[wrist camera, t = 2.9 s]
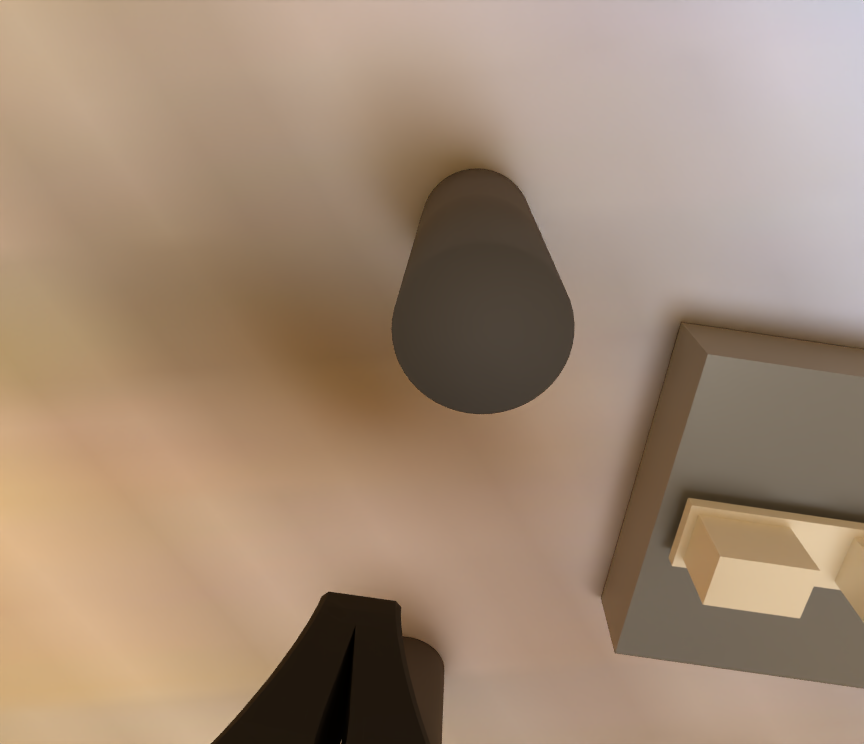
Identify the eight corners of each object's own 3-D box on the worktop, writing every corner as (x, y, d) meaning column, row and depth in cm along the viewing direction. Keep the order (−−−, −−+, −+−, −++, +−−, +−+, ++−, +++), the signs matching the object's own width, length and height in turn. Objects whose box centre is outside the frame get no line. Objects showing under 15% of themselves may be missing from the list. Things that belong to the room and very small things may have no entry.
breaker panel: (962, 650, 20) (1012, 709, 18) (601, 598, 20) (615, 653, 18) (1108, 385, 17) (1186, 425, 15) (681, 322, 17) (708, 354, 15)
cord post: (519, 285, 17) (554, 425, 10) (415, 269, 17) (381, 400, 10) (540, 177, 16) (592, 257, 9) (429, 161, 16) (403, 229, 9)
